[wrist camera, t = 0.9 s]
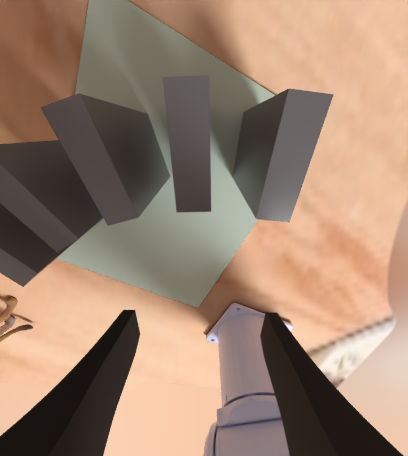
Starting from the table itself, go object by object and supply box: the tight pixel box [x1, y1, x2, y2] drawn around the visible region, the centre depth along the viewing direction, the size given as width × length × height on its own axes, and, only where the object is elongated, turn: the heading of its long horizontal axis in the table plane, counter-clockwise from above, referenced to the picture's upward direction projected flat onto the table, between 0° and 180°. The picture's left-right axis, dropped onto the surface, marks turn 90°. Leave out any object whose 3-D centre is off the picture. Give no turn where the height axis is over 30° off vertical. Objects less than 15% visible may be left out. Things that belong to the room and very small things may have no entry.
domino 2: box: [0, 203, 103, 287], centre depth 14 cm, size 2×5×9 cm, turn 38°
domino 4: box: [163, 75, 211, 213], centre depth 12 cm, size 2×5×9 cm, turn 1°
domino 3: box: [41, 93, 170, 226], centre depth 12 cm, size 2×5×9 cm, turn 15°
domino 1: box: [0, 141, 103, 253], centre depth 13 cm, size 2×5×9 cm, turn 32°
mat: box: [56, 0, 323, 308], centre depth 18 cm, size 18×23×1 cm
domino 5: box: [232, 89, 333, 222], centre depth 12 cm, size 2×5×9 cm, turn 174°
